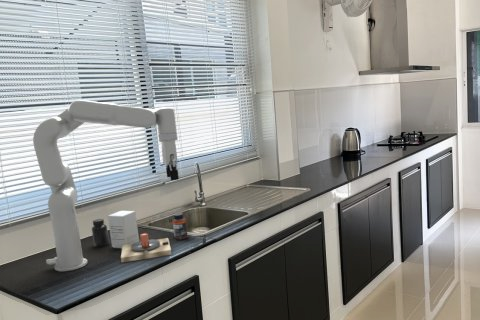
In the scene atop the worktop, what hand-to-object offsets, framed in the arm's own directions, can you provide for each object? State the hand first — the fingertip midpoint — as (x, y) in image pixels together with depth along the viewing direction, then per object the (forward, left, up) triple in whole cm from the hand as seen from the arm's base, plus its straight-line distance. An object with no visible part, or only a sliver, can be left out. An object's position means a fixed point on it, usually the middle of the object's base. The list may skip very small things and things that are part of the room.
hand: (172, 178), depth 186 cm
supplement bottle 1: (-34, +24, -31) cm, 52 cm away
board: (-14, +3, -30) cm, 34 cm away
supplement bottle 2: (+2, +16, -31) cm, 35 cm away
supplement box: (-23, +18, -31) cm, 43 cm away
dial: (-14, +3, -28) cm, 32 cm away
